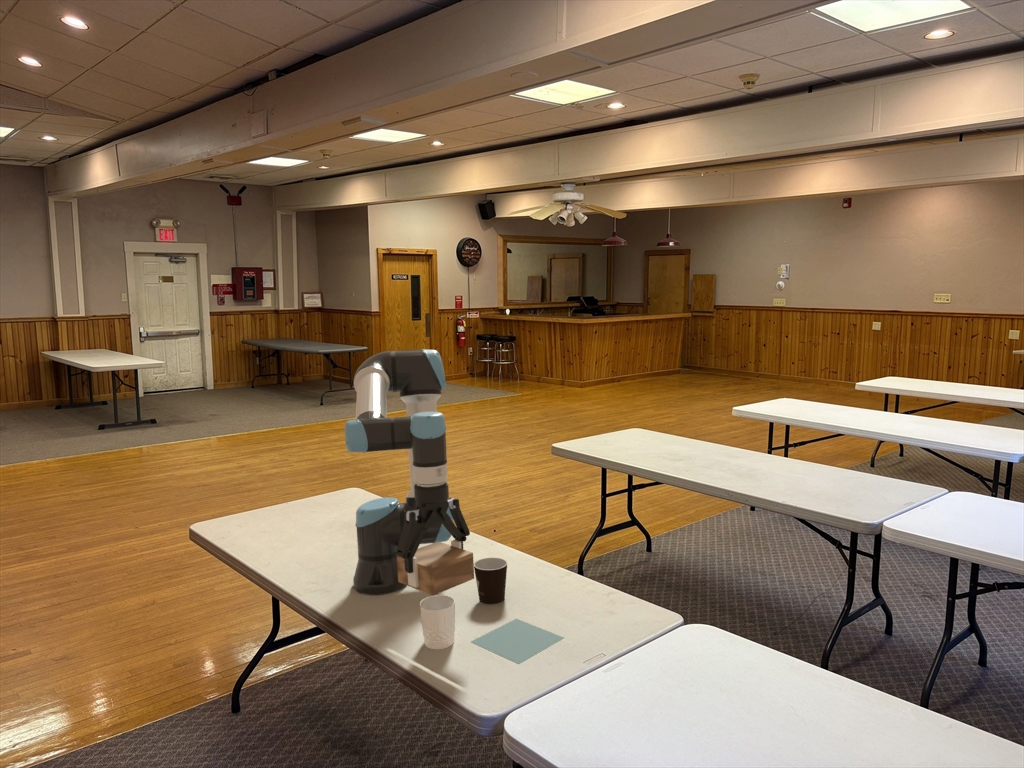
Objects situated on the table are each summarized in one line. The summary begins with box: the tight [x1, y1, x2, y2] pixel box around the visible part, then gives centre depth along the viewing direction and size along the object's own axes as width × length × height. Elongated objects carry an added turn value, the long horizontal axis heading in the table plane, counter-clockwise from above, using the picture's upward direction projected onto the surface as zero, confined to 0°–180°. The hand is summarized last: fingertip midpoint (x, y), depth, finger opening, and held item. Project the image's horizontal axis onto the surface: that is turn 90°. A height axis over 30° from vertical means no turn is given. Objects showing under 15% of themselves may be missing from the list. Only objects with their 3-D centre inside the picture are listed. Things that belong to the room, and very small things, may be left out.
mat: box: [470, 618, 565, 665], centre depth 159 cm, size 15×15×1 cm
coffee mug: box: [474, 556, 508, 605], centre depth 182 cm, size 12×9×10 cm
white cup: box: [419, 594, 456, 650], centre depth 158 cm, size 8×8×10 cm
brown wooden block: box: [397, 542, 475, 596], centre depth 157 cm, size 12×12×6 cm
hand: (436, 576), depth 157 cm, fingers closed on brown wooden block, 12 cm apart
